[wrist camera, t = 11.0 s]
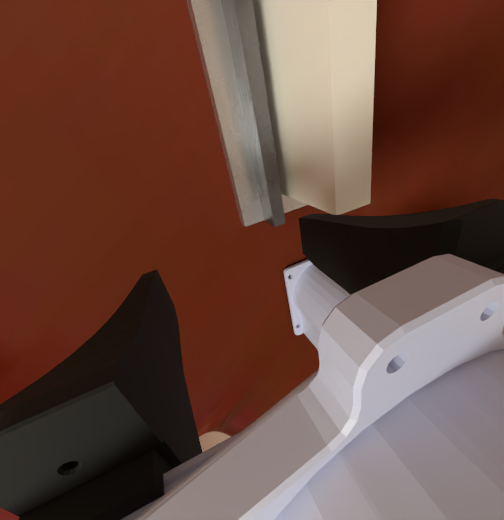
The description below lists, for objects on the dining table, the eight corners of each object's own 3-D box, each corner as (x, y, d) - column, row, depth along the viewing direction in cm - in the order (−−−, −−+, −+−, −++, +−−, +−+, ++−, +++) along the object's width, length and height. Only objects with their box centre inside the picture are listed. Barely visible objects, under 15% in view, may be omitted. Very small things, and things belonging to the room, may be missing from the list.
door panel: (307, 185, 21) (370, 203, 15) (282, 194, 21) (336, 215, 15) (289, -9, 15) (380, -103, 9) (252, -4, 15) (323, -101, 9)
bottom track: (337, 189, 24) (360, 195, 21) (241, 223, 21) (253, 234, 19) (329, -59, 16) (364, -97, 13) (174, -47, 14) (181, -89, 11)
